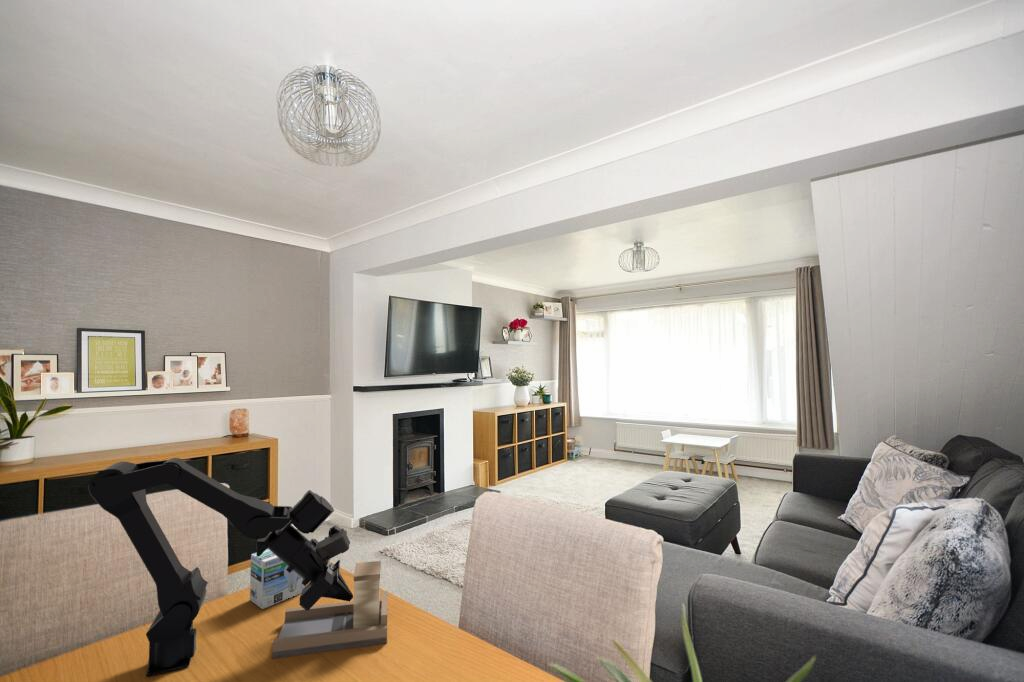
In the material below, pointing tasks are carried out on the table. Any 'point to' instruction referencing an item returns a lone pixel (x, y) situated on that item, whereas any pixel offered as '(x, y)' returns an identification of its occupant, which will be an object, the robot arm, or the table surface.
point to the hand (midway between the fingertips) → (351, 598)
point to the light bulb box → (272, 580)
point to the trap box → (327, 629)
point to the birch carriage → (366, 594)
